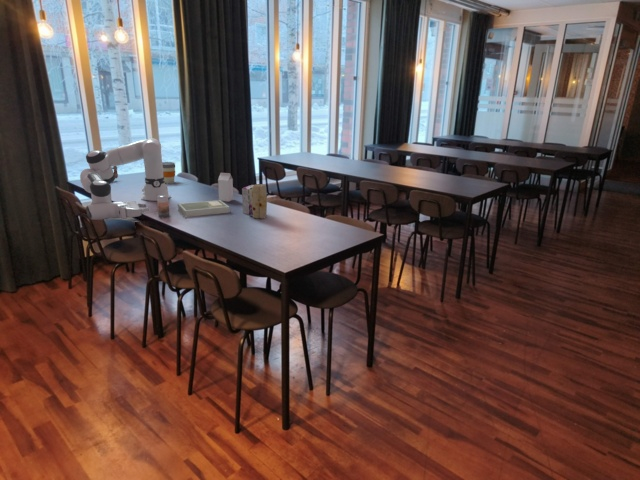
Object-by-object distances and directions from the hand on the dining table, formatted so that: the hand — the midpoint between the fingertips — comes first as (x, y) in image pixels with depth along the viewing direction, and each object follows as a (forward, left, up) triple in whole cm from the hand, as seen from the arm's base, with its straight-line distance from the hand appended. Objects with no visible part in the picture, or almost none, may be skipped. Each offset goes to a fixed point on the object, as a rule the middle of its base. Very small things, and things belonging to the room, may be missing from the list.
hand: (147, 207), depth 237 cm
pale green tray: (0, +32, -6) cm, 32 cm away
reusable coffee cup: (-98, +31, -6) cm, 103 cm away
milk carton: (-22, +53, -6) cm, 57 cm away
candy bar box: (+12, +57, -6) cm, 58 cm away
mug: (-114, -12, -6) cm, 115 cm away
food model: (+24, +58, -6) cm, 63 cm away
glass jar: (0, +9, -6) cm, 11 cm away
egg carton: (0, +39, -5) cm, 39 cm away
